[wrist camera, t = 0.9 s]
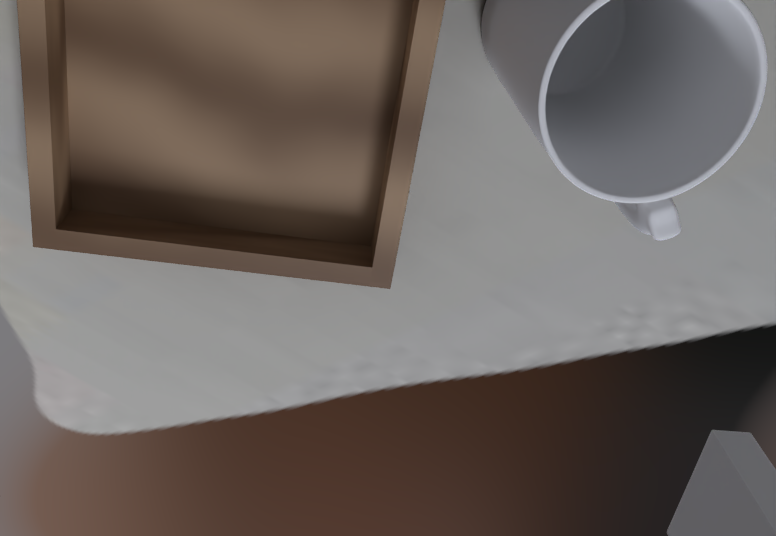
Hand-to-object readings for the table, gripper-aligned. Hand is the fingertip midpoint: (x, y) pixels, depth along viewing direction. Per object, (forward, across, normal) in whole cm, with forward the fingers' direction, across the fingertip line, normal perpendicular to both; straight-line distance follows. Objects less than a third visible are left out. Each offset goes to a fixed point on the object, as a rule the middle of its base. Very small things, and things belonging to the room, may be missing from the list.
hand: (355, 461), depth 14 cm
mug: (+23, +9, +3) cm, 25 cm away
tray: (+23, -5, 0) cm, 23 cm away
